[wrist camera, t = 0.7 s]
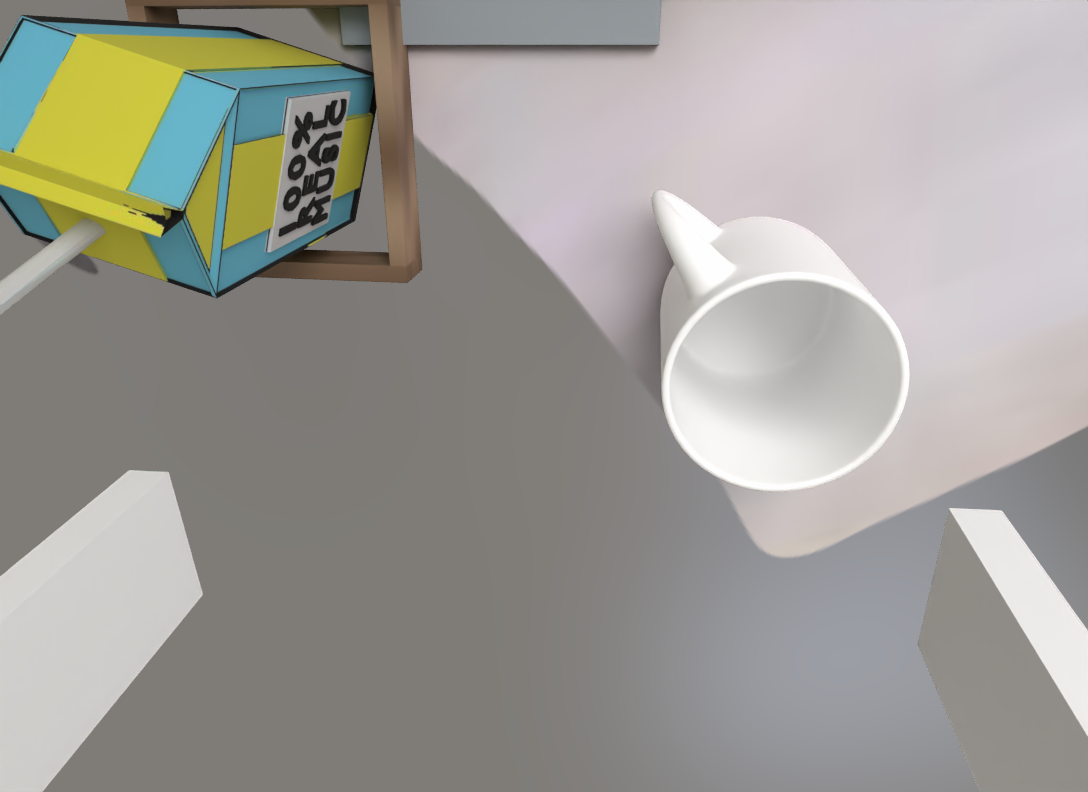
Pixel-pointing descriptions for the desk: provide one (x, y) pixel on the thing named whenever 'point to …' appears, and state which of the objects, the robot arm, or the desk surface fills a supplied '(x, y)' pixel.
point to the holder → (395, 127)
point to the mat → (515, 22)
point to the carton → (175, 148)
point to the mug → (772, 352)
